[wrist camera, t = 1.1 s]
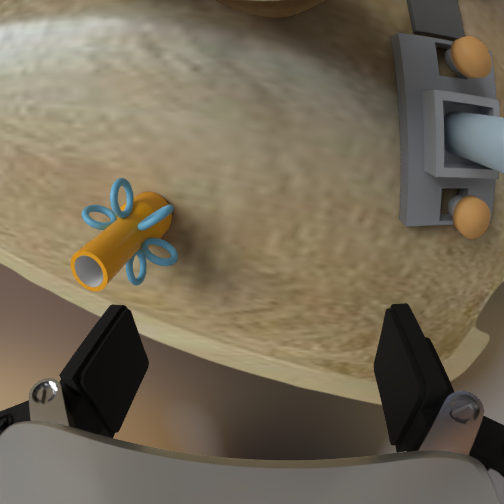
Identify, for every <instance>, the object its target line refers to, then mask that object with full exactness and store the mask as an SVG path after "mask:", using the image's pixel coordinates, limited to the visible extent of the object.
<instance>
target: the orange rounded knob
mask: <svg viewBox="0 0 504 504" xmlns="http://www.w3.org/2000/svg"><path fill="white" fill-rule="evenodd" d="M447 209H448V213H449V215H450V216H451V217H453V223H454V226H455V228H456V229H457V230H458V231H459V232H460V233H461V234H462V235H464V236H465V237H466V238H468V239H476V238H478V237H480V236H481V235H483V234H484V232H485V231H486V230H487V228H488V226H489V223H490V209H489V207H488V205H487V204H486V203H485V202H484V201H482V200H481V199H479V198H477V197H476V196H473V195H468V196H465V197H463V196H461V195H455V196H453V197H452V198H451V199H450V201H449V203H448V207H447Z"/></svg>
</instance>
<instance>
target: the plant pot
mask: <svg viewBox="0 0 504 504" xmlns="http://www.w3.org/2000/svg"><path fill="white" fill-rule="evenodd" d="M216 1H218V2H220V3H222V4H224V5H226V6H228V7H231V8H233V9H236V10H239V11H241V12H245V13H248V14H252V15H256V16H261V17H270V18H278V17H287V16H292V15H295V14H298V13H301V12H304V11H306V10H308V9H311V8H313V7H315V6H316V5H318V4H320V3H322V2H323V1H325V0H216Z"/></svg>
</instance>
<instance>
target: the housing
mask: <svg viewBox="0 0 504 504" xmlns="http://www.w3.org/2000/svg"><path fill="white" fill-rule="evenodd" d="M391 42H392V49H393V56H394V64H395V72H396V81H397V92H398V105H399V121H400V148H401V187H400V214H399V219H400V220H401V222H402V223H403V224H404V225H405V226H406V227H407V226H429V225H451V224H454V223H453V217H451V216H450V215H449V214H440V208H441V195H442V188H458V195H461V196H463V197H465V196H468V195H473V196H476V197H477V198H479V199H481V200H482V201H484V202H485V203H486V204H487V205H488V207H489V209H490V223H491V217H492V210H493V202H494V192H495V181H496V179H498V177H499V172H498V171H496V170H494V169H491V168H489V167H486V166H484V165H481V164H479V163H476V162H474V161H471V160H469V159H466V158H463V157H460V156H458V155H455V154H452V153H450V152H449V151H448V150H446V148H445V147H444V116H445V115H446V114H448V113H450V112H465V113H474V114H482V115H489V116H496V117H500V108H499V100H496V88H495V77H494V68H493V60H492V53H491V51H489V50H488V51H489V53H490V56H491V60H492V67H491V71H490V73H489V74H488V75H487V76H486V77H483V78H469V77H466V76H464V75H463V74H461V73H460V72H456V73H457V78H454V77H447V76H441V75H439V67H438V59H437V52H436V47H440V48H445V49H451V45H452V43H453V41H448V40H443V39H438V38H432V37H426V36H420V35H413V34H405V33H397V34H395V35H393V36H392V37H391Z"/></svg>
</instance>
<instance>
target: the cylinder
mask: <svg viewBox="0 0 504 504" xmlns="http://www.w3.org/2000/svg"><path fill="white" fill-rule="evenodd" d="M121 185H122V186H123V187H124V189H125V191H126V196H127V202H126V203H125V204H124V205H122V206H121V208H120V207H119V204H118V190H119V188H120V186H121ZM110 202H111V207H112V210H113V212H112V211H111V210H110V209H108V208H106V207H104V206H100V205H90V206H87V207H86V208H84V210H83V211H82V218H83V220H84V221H85V222H86V223H87V224H88V225H89V226H91V227H93V228H96V229H100V230H103V231H102V232H101V233H99V234H98V235H97V236H96V237H94V238H93V239H92V240H91V241H89V242H88V243H87V244H86V245H85V246H83V247H82V248H81V249H80V250H79V251H77V252H76V253H75V254H74V255H73V257H72V259H71V270H72V273H73V275H74V277H75V279H76V280H77V281H78V283H79V284H80V285H82V286H83V287H84V288H86V289H88V290H90V291H100V290H102V289H104V288H105V286H106V285H107V284H108V283H109V282H110V281H111V280H112V278H113V277H114V276H115V275H116V274H117V273H118V272H119V271H120V269H121V268H122V267H123V266H124V265H125V264H126V273H127V277H128V279H129V281H130V282H131V283H132V284H133V285H140V284H141V283H142V282H143V280H144V278H145V275H146V258H147V259H148V260H149V261H151V262H153V263H155V264H157V265H161V266H170V265H173V264H175V263H176V262H177V260H178V253H177V251H176V249H175V248H174V247H173V246H172V245H171V244H170V243H168V242H166V241H164V240H162V239H160V238H161V237H162V236H163V235H164V234H165V233H166V232H167V230H168V229H169V227H170V225H171V222H172V211H173V210H174V207H173V206H172V205H169V204H168V203H167V201H166V200H165V199H164V198H163V197H162V196H160V195H159V194H156V193H153V192H143V193H140V194H138V195H137V196H135V197H134V198H133V191H132V187H131V185H130V183H129V182H128V181H127V180H126V179H124V178H119V179H117V180H116V181H115V182H114V184H113V186H112V188H111V193H110ZM90 212H100V213H103V214H105V215H107V216H108V217H109V218H110V220H111V221H110V222H107V223H102V222H98V221H95V220H93V219H92V218H91V217H90V216H89V213H90ZM153 245H158V246H161V247H163V248H165V249H166V250H167V251H168V252H169V253H170V254H171V258H168V259H164V258H160V257H157V256H155V255H154V254H152V253H151V252H150V251H149V249H148V248H150V247H152V246H153ZM135 255H138V257H139V260H140V273H139V276H138V278H137V279H136V278H135V276H134V273H133V260H134V257H135ZM145 257H146V258H145Z"/></svg>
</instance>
